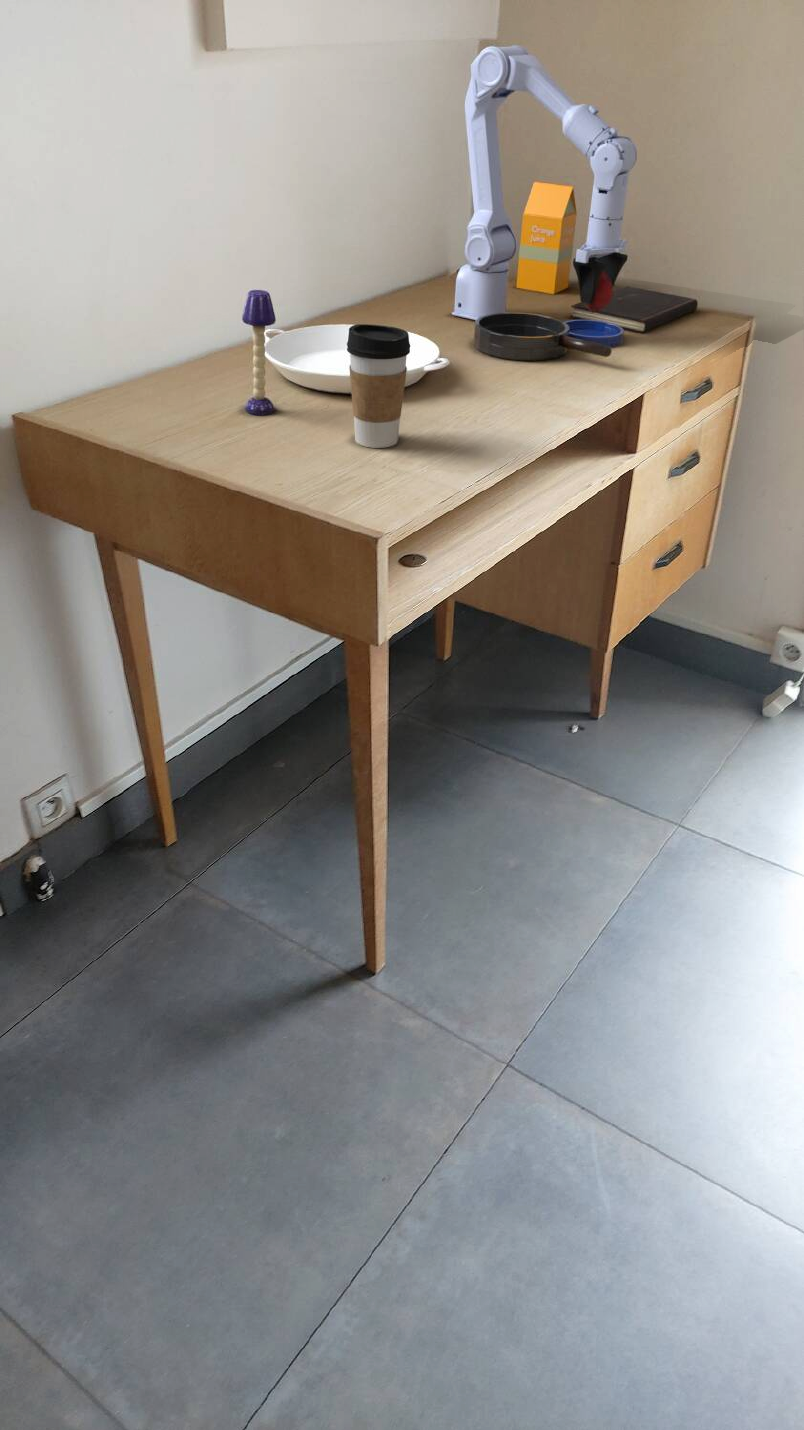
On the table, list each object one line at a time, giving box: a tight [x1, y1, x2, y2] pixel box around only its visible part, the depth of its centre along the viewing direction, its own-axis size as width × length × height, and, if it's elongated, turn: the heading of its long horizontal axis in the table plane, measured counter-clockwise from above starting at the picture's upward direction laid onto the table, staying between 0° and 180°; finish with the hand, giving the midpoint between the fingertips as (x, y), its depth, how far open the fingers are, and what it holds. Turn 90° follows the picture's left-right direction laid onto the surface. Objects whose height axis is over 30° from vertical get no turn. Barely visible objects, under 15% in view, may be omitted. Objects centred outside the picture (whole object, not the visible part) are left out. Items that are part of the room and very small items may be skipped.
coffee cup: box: [347, 323, 410, 449], centre depth 141 cm, size 8×8×15 cm
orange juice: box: [516, 180, 578, 295], centre depth 218 cm, size 8×9×20 cm
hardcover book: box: [569, 285, 699, 334], centre depth 207 cm, size 16×23×2 cm
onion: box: [583, 271, 614, 313], centre depth 187 cm, size 6×6×8 cm
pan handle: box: [559, 336, 613, 358], centre depth 178 cm, size 10×2×2 cm, turn 52°
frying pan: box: [473, 311, 570, 362], centre depth 184 cm, size 16×16×4 cm
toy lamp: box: [241, 289, 276, 416], centre depth 149 cm, size 5×5×17 cm
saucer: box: [564, 319, 625, 348], centre depth 192 cm, size 12×12×2 cm
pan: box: [264, 323, 451, 395], centre depth 169 cm, size 34×28×4 cm
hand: (595, 299), depth 188 cm, fingers closed on onion, 6 cm apart
